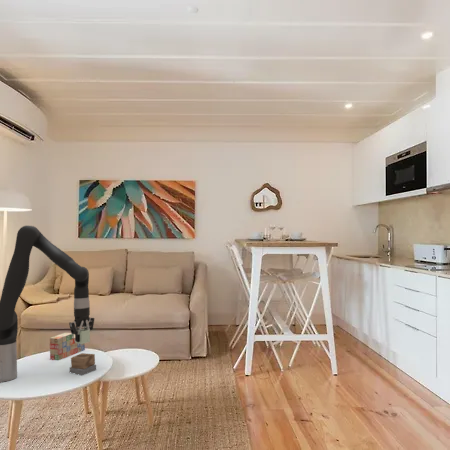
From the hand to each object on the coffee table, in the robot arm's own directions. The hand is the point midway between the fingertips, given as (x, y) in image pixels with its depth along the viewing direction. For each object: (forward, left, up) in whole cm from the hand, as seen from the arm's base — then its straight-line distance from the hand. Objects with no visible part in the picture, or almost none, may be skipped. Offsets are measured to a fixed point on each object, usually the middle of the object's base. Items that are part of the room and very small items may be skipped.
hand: (82, 340), depth 208 cm
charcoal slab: (0, 0, -16) cm, 16 cm away
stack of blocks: (+16, +33, -16) cm, 40 cm away
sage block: (0, 0, -1) cm, 1 cm away
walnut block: (0, 0, -13) cm, 13 cm away
